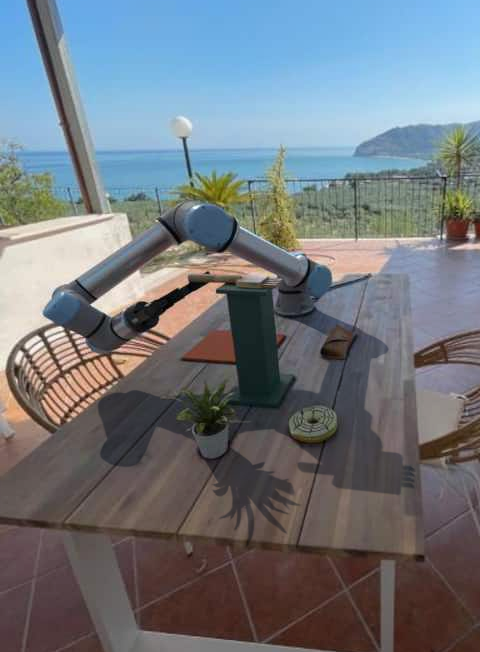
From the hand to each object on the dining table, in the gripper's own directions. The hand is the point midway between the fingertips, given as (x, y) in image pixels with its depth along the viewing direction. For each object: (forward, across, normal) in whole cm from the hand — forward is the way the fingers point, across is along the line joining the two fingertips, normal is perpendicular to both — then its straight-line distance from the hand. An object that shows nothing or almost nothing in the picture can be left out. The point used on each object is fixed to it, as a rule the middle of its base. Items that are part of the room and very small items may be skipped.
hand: (196, 283), depth 94 cm
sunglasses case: (+11, -28, -40) cm, 50 cm away
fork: (+9, 0, -4) cm, 10 cm away
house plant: (-5, +24, -31) cm, 39 cm away
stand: (-3, 0, -32) cm, 32 cm away
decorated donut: (+13, +14, -41) cm, 45 cm away
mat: (-18, -22, -23) cm, 37 cm away
